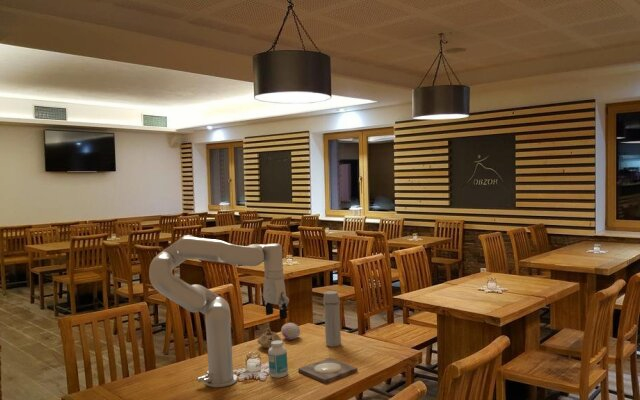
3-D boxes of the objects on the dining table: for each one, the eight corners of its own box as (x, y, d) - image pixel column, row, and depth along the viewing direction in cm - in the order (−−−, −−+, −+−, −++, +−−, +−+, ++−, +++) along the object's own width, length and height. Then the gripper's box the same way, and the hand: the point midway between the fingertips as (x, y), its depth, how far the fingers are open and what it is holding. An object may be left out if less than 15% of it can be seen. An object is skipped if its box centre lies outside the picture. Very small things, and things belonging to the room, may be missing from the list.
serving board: (325, 383, 199) (325, 379, 198) (298, 372, 212) (298, 367, 212) (357, 371, 209) (357, 367, 209) (330, 361, 222) (329, 357, 222)
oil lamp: (263, 354, 235) (262, 337, 235) (254, 345, 249) (254, 328, 249) (286, 350, 239) (285, 333, 239) (276, 341, 253) (275, 325, 253)
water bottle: (326, 342, 248) (323, 290, 247) (342, 342, 247) (340, 290, 246) (323, 348, 239) (321, 295, 238) (340, 348, 238) (338, 295, 237)
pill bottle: (289, 371, 213) (287, 339, 212) (286, 378, 206) (284, 344, 205) (271, 371, 214) (269, 339, 213) (267, 378, 206) (266, 345, 206)
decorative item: (296, 323, 265) (292, 313, 258) (305, 340, 257) (301, 330, 250) (280, 331, 263) (276, 321, 256) (288, 349, 256) (284, 338, 249)
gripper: (254, 273, 212) (256, 314, 213) (278, 278, 199) (281, 322, 200) (269, 270, 217) (272, 311, 218) (294, 275, 204) (296, 318, 204)
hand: (276, 316), depth 209 cm, fingers open, 9 cm apart
